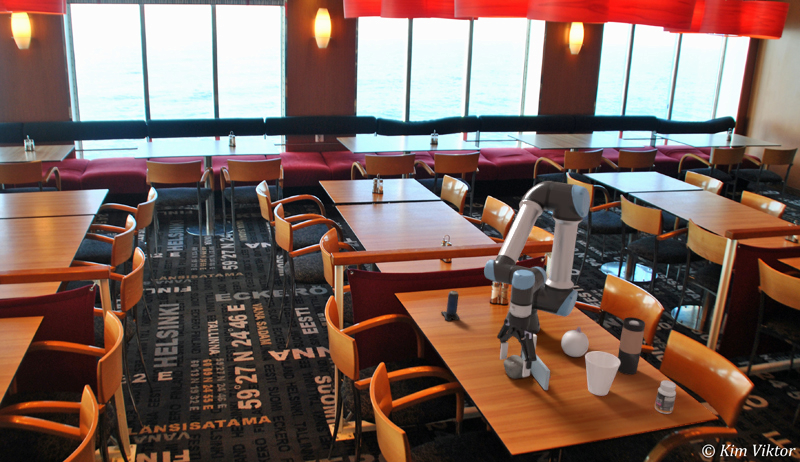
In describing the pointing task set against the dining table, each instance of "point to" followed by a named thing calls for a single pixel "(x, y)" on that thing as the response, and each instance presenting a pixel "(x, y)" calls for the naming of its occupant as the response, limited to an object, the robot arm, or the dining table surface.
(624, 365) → the travel mug
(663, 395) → the pill bottle
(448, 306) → the blue column with base
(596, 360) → the cup
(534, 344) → the tilted pink plank
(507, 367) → the stone
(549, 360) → the dining table surface
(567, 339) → the ornament
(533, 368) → the door
